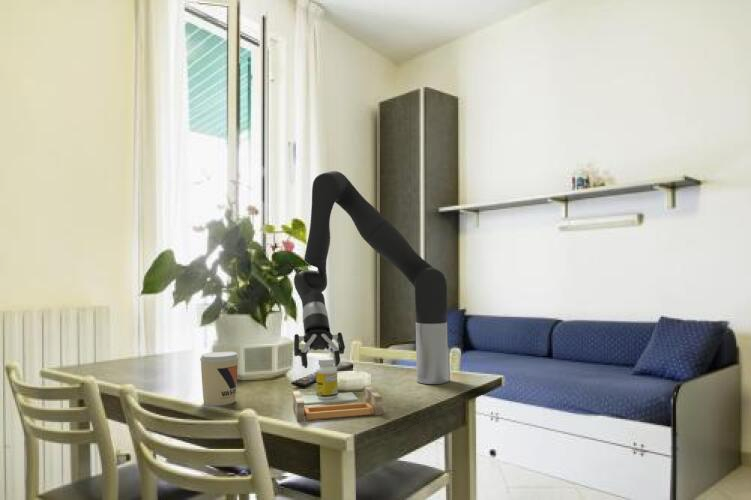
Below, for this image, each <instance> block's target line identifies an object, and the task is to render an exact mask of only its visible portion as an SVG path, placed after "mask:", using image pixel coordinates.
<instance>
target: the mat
mask: <svg viewBox="0 0 751 500" xmlns="http://www.w3.org/2000/svg"><path fill="white" fill-rule="evenodd" d="M301 396H302V399H303V401H304V406H306V405H318V404H320V405H321V404H331V403H345V402H358V401H359V399H358V397H357V396H356V395H355V394H354V393H353V392H352V391H351V392H338V396H337V397H336V398H333V399H319V398H318V397H317V394H309V395H308V394H307V395H301Z"/></svg>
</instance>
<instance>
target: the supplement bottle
mask: <svg viewBox="0 0 751 500" xmlns="http://www.w3.org/2000/svg"><path fill="white" fill-rule="evenodd" d="M318 365H319V366H318V367H317V368H316V372H315V376H316V377H315V378H316V395H317V397H318V398H319V399H333V398H336V397H337V396H338V393H339V388H338V387H339V386H338V385H339V384H338V368H337V366H335V363H334V357H321V358H318Z"/></svg>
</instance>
